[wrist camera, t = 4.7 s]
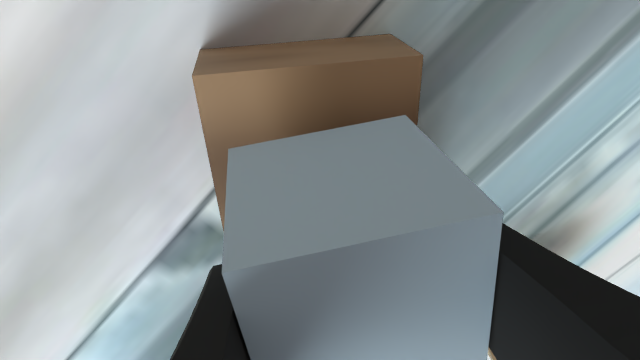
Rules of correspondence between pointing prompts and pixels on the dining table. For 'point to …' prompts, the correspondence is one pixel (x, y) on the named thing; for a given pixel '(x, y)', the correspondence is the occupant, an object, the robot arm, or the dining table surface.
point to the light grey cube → (359, 247)
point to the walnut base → (300, 91)
